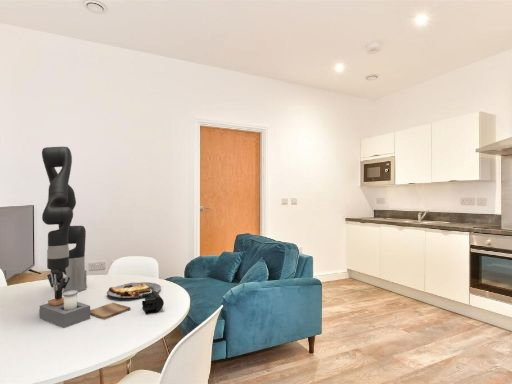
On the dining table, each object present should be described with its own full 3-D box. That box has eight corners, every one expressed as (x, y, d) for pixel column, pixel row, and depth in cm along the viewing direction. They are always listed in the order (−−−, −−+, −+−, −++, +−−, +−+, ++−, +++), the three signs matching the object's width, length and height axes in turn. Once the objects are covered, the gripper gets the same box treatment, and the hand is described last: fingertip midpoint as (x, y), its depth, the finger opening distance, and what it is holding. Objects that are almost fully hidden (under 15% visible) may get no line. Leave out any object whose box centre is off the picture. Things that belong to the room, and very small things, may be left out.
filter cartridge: (73, 316, 125) (73, 289, 125) (80, 319, 122) (79, 291, 122) (60, 321, 121) (60, 292, 121) (67, 323, 118) (67, 294, 118)
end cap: (163, 312, 130) (163, 295, 130) (146, 315, 126) (146, 298, 126) (158, 304, 138) (158, 289, 139) (141, 307, 135) (141, 292, 135)
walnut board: (112, 304, 138) (112, 302, 138) (130, 309, 132) (130, 307, 132) (86, 313, 128) (86, 311, 128) (104, 319, 122) (104, 317, 122)
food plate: (113, 304, 138) (114, 296, 138) (101, 292, 156) (101, 285, 156) (167, 294, 154) (167, 287, 154) (150, 284, 172) (150, 278, 172)
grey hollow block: (65, 309, 132) (65, 298, 132) (90, 318, 123) (90, 305, 123) (39, 318, 124) (39, 305, 124) (64, 327, 115) (64, 314, 115)
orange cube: (61, 308, 130) (61, 296, 130) (68, 310, 127) (68, 298, 127) (47, 312, 125) (47, 300, 125) (54, 315, 123) (54, 302, 123)
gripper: (76, 256, 126) (76, 298, 126) (59, 253, 133) (59, 293, 133) (57, 259, 120) (57, 304, 120) (39, 256, 126) (40, 298, 126)
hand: (58, 298), depth 126 cm, fingers closed
